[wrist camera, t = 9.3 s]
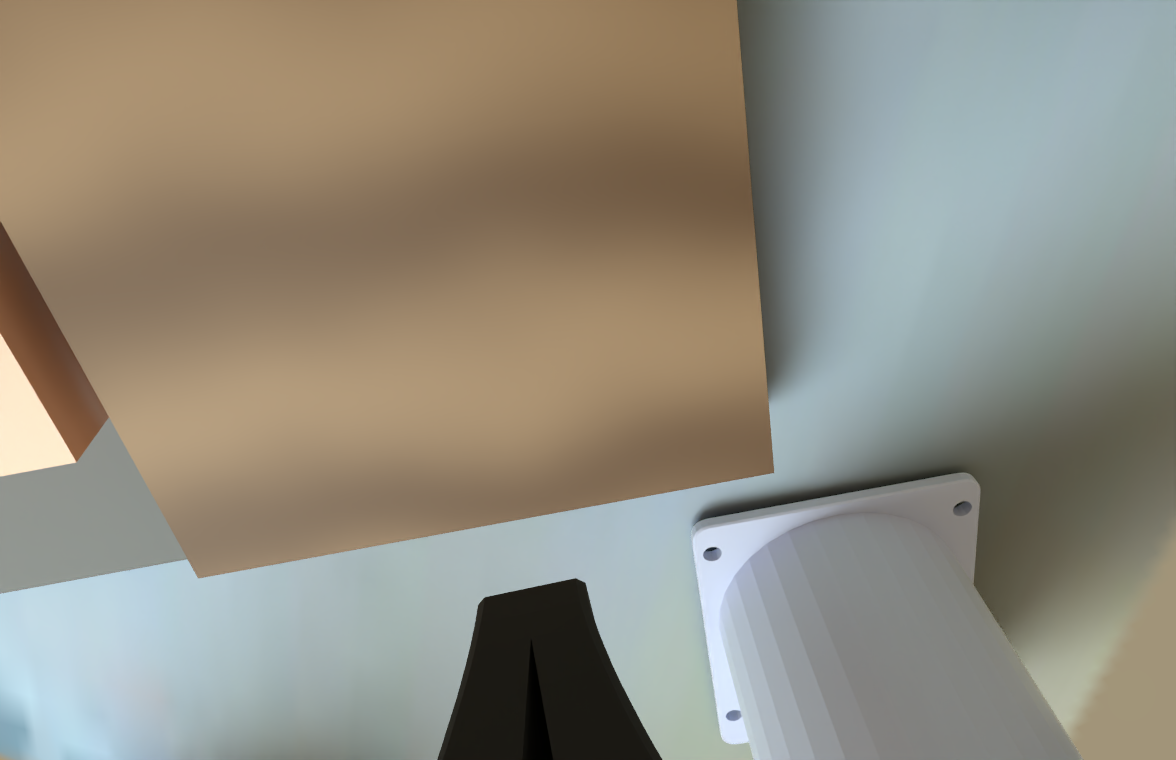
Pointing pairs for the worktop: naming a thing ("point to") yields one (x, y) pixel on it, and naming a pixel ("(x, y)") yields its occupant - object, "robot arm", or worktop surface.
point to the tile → (38, 379)
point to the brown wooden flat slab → (392, 255)
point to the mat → (81, 519)
